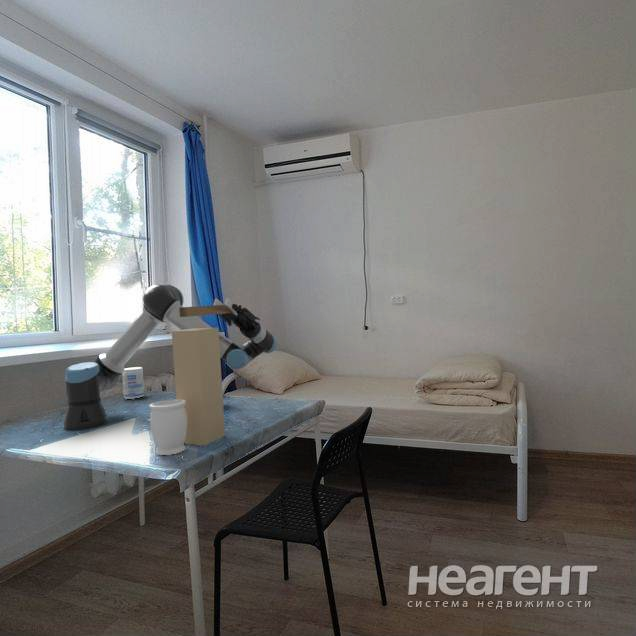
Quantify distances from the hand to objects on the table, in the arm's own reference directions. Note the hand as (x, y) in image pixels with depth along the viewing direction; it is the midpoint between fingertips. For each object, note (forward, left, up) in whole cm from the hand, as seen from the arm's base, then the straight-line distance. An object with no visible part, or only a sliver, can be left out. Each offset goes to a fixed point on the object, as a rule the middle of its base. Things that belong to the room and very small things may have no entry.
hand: (220, 301), depth 168 cm
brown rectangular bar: (0, -6, -4) cm, 8 cm away
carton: (0, -15, -45) cm, 47 cm away
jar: (-2, -28, -45) cm, 53 cm away
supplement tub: (-79, +37, -45) cm, 98 cm away
